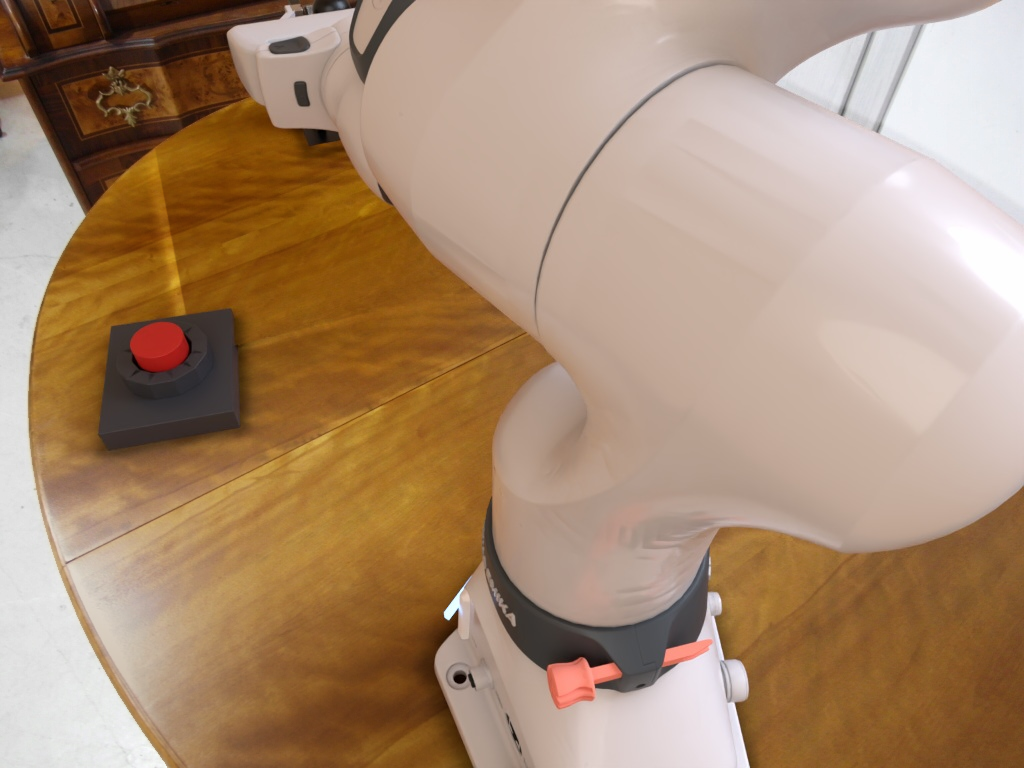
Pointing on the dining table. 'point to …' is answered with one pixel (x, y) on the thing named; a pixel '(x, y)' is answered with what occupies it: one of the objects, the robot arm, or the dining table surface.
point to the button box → (172, 385)
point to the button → (159, 347)
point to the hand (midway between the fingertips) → (329, 7)
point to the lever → (326, 6)
